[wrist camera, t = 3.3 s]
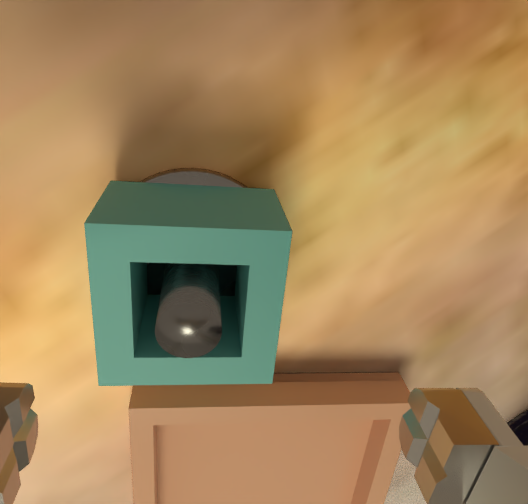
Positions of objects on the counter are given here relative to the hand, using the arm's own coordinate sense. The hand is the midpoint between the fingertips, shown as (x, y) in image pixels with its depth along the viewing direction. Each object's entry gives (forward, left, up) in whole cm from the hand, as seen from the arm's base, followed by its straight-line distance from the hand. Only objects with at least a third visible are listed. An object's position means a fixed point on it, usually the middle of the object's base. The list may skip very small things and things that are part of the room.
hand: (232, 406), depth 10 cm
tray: (-3, +14, -10) cm, 17 cm away
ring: (+1, +1, -9) cm, 9 cm away
